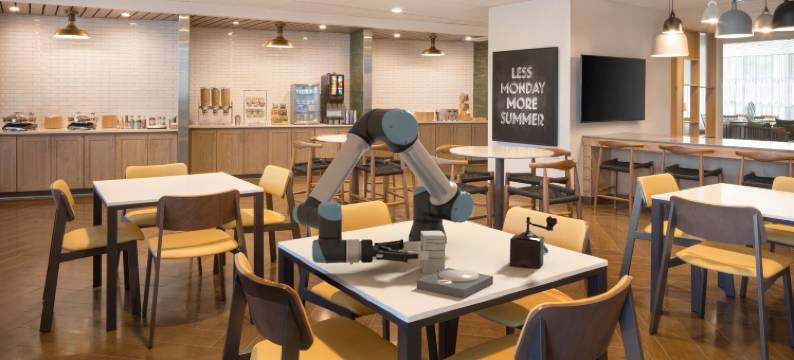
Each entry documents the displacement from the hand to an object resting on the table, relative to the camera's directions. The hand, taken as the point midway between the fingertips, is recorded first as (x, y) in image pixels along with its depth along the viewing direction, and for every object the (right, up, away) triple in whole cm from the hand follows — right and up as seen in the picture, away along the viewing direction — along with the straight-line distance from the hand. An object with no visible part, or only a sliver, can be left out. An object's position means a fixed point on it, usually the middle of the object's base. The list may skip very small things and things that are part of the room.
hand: (425, 250), depth 204 cm
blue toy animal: (+44, -4, +31) cm, 54 cm away
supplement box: (+2, -7, +2) cm, 7 cm away
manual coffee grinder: (+37, -6, +10) cm, 39 cm away
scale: (+8, -9, -16) cm, 20 cm away
